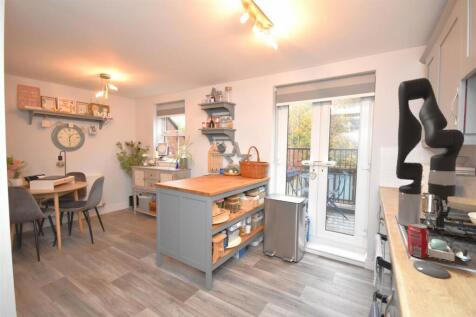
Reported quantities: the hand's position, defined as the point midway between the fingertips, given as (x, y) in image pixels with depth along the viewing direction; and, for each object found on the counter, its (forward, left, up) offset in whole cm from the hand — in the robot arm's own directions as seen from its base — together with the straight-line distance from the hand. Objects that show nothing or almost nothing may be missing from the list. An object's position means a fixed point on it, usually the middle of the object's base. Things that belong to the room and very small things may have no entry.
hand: (439, 226), depth 82 cm
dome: (0, 0, -10) cm, 10 cm away
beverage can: (+4, -7, -12) cm, 14 cm away
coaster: (+14, -5, -11) cm, 19 cm away
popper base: (0, 0, -11) cm, 11 cm away
